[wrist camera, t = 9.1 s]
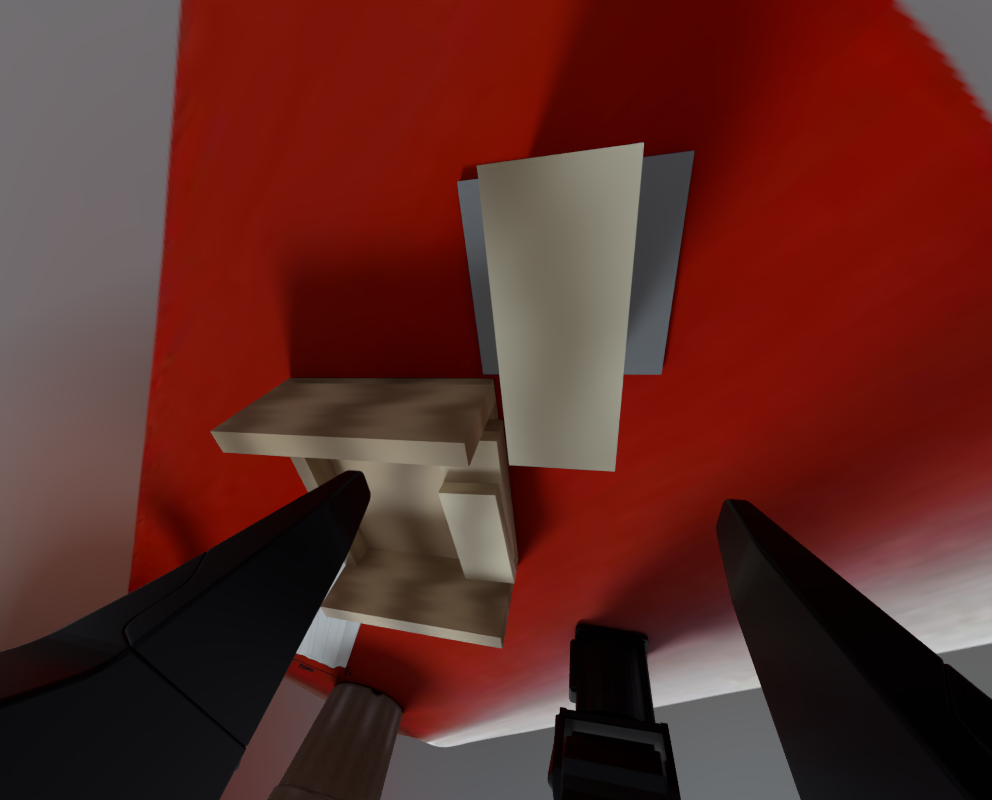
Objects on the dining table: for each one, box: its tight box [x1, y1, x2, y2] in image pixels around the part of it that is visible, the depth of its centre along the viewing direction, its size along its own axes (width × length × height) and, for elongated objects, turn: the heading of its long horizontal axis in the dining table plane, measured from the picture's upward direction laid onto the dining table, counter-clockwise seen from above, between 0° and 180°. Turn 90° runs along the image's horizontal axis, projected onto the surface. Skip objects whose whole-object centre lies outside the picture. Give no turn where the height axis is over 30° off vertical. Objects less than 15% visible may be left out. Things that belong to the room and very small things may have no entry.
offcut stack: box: [438, 419, 518, 584], centre depth 25 cm, size 4×14×3 cm, turn 6°
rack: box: [210, 378, 513, 648], centre depth 26 cm, size 15×19×6 cm
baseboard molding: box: [294, 563, 361, 680], centre depth 43 cm, size 31×3×12 cm
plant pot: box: [267, 683, 402, 800], centre depth 51 cm, size 16×16×16 cm
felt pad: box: [457, 151, 694, 374], centre depth 18 cm, size 10×10×1 cm
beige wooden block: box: [477, 143, 644, 471], centre depth 14 cm, size 4×10×8 cm, turn 6°
